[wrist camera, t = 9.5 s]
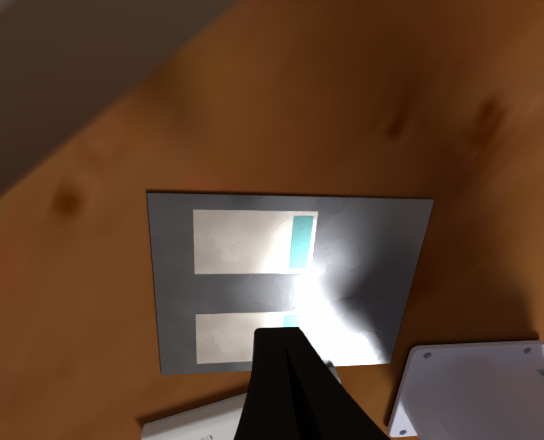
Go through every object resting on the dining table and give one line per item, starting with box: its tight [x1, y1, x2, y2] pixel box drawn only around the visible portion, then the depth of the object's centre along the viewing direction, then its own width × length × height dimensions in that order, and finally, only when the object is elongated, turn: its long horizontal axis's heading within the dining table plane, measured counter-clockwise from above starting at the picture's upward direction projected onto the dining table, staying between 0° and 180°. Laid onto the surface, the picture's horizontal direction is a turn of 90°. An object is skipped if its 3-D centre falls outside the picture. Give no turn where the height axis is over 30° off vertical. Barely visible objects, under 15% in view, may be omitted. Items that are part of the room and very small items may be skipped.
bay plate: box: [147, 192, 434, 375], centre depth 18 cm, size 14×11×1 cm
